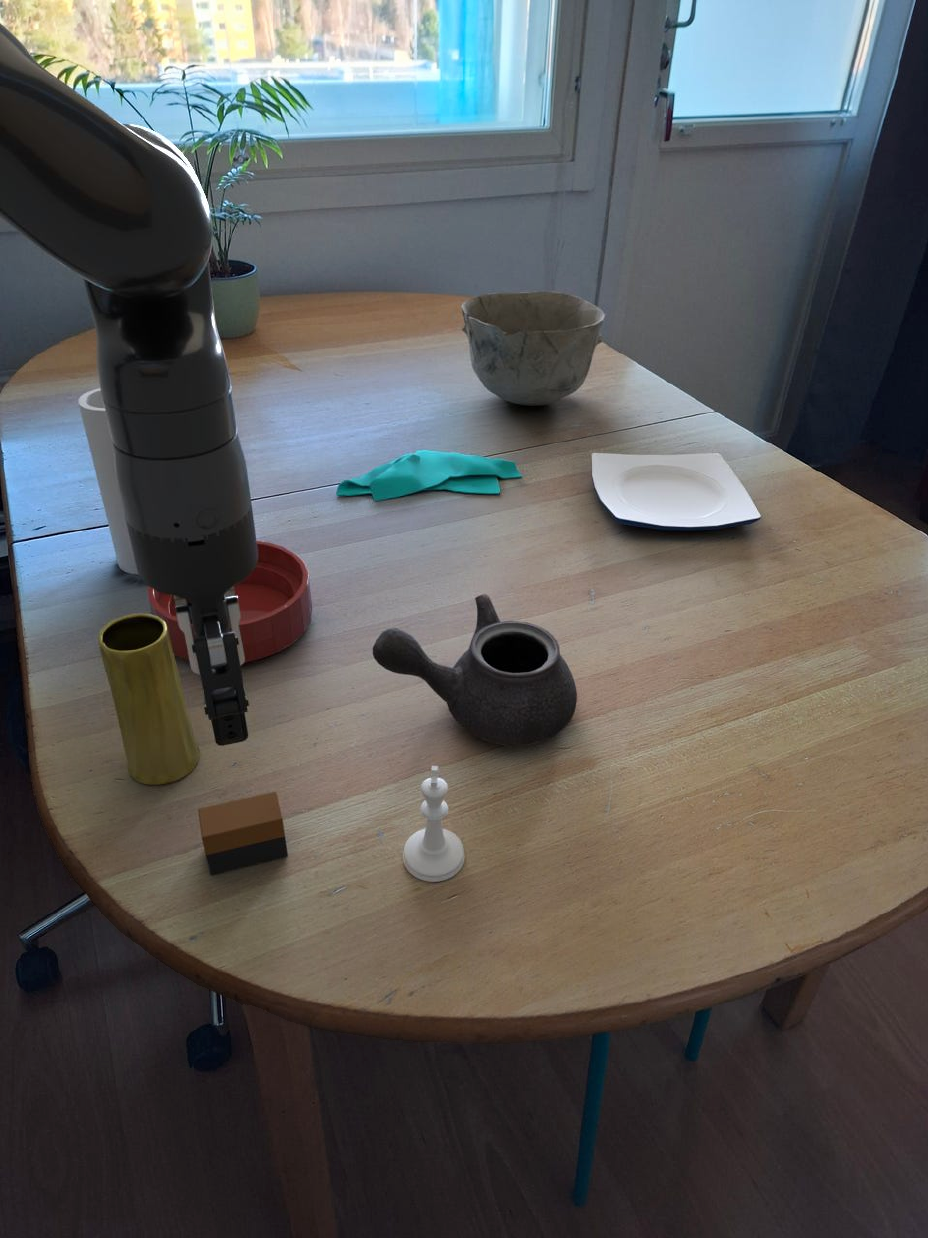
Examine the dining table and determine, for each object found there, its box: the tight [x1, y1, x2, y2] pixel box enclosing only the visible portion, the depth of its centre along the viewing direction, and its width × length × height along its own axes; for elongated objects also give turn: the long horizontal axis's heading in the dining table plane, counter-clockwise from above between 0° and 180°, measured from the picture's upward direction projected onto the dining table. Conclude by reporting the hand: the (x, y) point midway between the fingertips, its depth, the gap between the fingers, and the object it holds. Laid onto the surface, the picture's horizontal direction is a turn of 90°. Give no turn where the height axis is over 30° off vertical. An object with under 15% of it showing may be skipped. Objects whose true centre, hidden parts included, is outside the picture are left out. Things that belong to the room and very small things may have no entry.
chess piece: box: [402, 765, 466, 883], centre depth 67 cm, size 5×5×10 cm
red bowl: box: [146, 540, 313, 663], centre depth 92 cm, size 16×16×6 cm
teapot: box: [372, 593, 578, 747], centre depth 81 cm, size 19×15×10 cm
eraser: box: [197, 790, 289, 876], centre depth 68 cm, size 6×3×4 cm, turn 109°
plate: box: [590, 452, 762, 532], centre depth 118 cm, size 20×20×3 cm
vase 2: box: [97, 613, 201, 786], centre depth 73 cm, size 6×6×14 cm
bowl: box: [460, 290, 606, 407], centre depth 141 cm, size 22×22×15 cm
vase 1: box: [77, 387, 139, 576], centre depth 98 cm, size 11×7×20 cm, turn 112°
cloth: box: [335, 449, 523, 502], centre depth 122 cm, size 26×14×2 cm, turn 97°
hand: (224, 700), depth 63 cm, fingers open, 8 cm apart
